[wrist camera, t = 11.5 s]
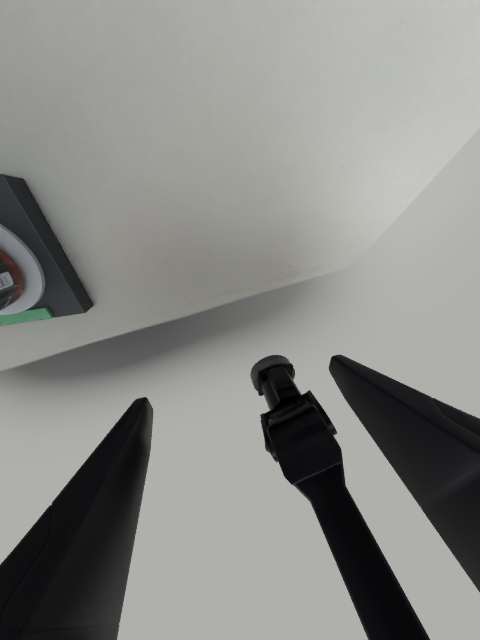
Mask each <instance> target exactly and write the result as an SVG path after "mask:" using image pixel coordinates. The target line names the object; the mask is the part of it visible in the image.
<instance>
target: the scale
mask: <svg viewBox="0 0 480 640" xmlns="http://www.w3.org/2000/svg"><path fill="white" fill-rule="evenodd" d="M0 249H1V250H2V251H3V252H5V254H6V255H8V256H9V257H10V258H11V259H12V260H13V262H14V263H15V264H16V265H17V267H18V269H19V270H20V273H21V275H22V278H23V284H24V290H23V291H22V294H21V296H20V297H19V299H18V300H17V301H15V302H14V303H13V304H11V305H9V306H7V307H6V308H5V309H3V310H0V326H1V325H8V324H15V323H22V322H28V321H35V320H42V319H49V318H53V317H60V316H66V315H73V314H80V313H86V312H87V311H88V310H89V309H90V308H91V307H92V306H93V304H92V302H91V300H90V298H89V296H88V295H87V293H86V291H85V289H84V288H83V286H82V284H81V282H80V280H79V279H78V277H77V275H76V273H75V271H74V270H73V268H72V266H71V264H70V262H69V261H68V259H67V257H66V255H65V253H64V252H63V250H62V248H61V246H60V244H59V243H58V241H57V239H56V237H55V236H54V234H53V232H52V230H51V228H50V227H49V225H48V223H47V221H46V219H45V218H44V216H43V214H42V212H41V210H40V209H39V207H38V205H37V203H36V201H35V200H34V198H33V196H32V194H31V192H30V191H29V189H28V187H27V185H26V183H25V182H24V180H23V179H22V178H17V177H12V176H8V175H3V174H0Z"/></svg>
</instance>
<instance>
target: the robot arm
mask: <svg viewBox="0 0 480 640" xmlns="http://www.w3.org/2000/svg"><path fill="white" fill-rule="evenodd" d="M329 371H330V373H331V375H332V377H333V378H334V380H335V382H336V384H337V386H338V387H339V389H340V391H341V393H342V394H343V396H344V398H345V399H346V401H347V402H348V404H349V405H350V406H351V408H352V410H353V411H354V412H355V414H356V415H357V417H358V418H359V420H360V421H361V423H362V424H363V425H364V427H365V428H366V430H367V431H368V433H369V434H370V435H371V437H372V438H373V440H374V441H375V443H376V444H377V445H378V447H379V448H380V450H381V451H382V453H383V454H384V456H385V457H386V458H387V460H388V461H389V463H390V464H391V466H392V467H393V468H394V470H395V471H396V473H397V474H398V476H399V477H400V478H401V480H402V481H403V483H404V484H405V486H406V487H407V489H408V490H409V491H410V493H411V494H412V495H413V497H414V498H415V500H416V501H417V503H418V504H419V506H420V507H421V508H422V510H423V512H424V513H425V514H426V516H427V517H428V519H429V520H430V522H431V523H432V525H433V526H434V527H435V529H436V530H437V532H438V533H439V535H440V536H441V538H442V539H443V540H444V542H445V543H446V545H447V546H448V548H449V549H450V550H451V552H452V553H453V555H454V556H455V558H456V559H457V560H458V562H459V563H460V565H461V566H462V568H463V569H464V570H465V572H466V573H467V575H468V576H469V577H470V579H471V580H472V582H473V583H474V585H475V586H476V587H477V589H478V591H479V592H480V419H479V418H477V417H474V416H472V415H469V414H467V413H465V412H463V411H461V410H458V409H456V408H454V407H452V406H450V405H447V404H445V403H443V402H441V401H439V400H437V399H435V398H431V397H430V396H428V395H426V394H424V393H421V392H419V391H417V390H415V389H413V388H410V387H409V386H406V385H404V384H402V383H400V382H398V381H396V380H394V379H392V378H389V377H387V376H385V375H383V374H381V373H379V372H377V371H375V370H372V369H370V368H368V367H366V366H364V365H361V364H360V363H357V362H355V361H353V360H351V359H349V358H347V357H345V356H342V355H336V356H332V358H331V361H330V365H329ZM292 373H293V365H292V364H286V365H281V366H276V367H272V368H267V369H263V370H259V371H258V372H257V375H258V394H259V396H262V395H264V396H265V399H266V401H267V404H268V406H269V409H270V411H269V412H267V413H263V414H261V415H260V416H261V424H262V428H263V433H264V438H265V448H266V450H267V451H268V452H269V453H271V455H272V457H273V458H274V460H275V461H276V462H279V464H280V467H281V469H282V472H283V474H284V476H285V478H286V479H287V480H288V481H289V482H290V483H291V484H292V485H294V486H295V487H296V488H297V489H298V490H299V491H300V492H301V493H302V494H303V495H304V496H305V497H306V498H307V499H308V500H309V501H310V502H311V504H312V507H313V509H314V511H315V513H316V516H317V518H318V521H319V523H320V525H321V528H322V530H323V533H324V535H325V537H326V539H327V542H328V544H329V547H330V549H331V552H332V554H333V556H334V559H335V561H336V563H337V566H338V568H339V571H340V573H341V575H342V578H343V580H344V582H345V585H346V587H347V590H348V592H349V594H350V597H351V599H352V602H353V604H354V606H355V609H356V611H357V613H358V616H359V618H360V621H361V623H362V625H363V628H364V630H365V632H366V635H367V637H368V640H430V639H429V637H428V635H427V633H426V631H425V629H424V628H423V626H422V624H421V622H420V620H419V618H418V617H417V615H416V613H415V611H414V609H413V608H412V606H411V604H410V602H409V601H408V599H407V597H406V595H405V593H404V591H403V589H402V588H401V586H400V584H399V582H398V580H397V579H396V577H395V575H394V573H393V571H392V570H391V568H390V566H389V564H388V562H387V560H386V559H385V557H384V555H383V553H382V551H381V550H380V548H379V546H378V544H377V543H376V540H375V539H374V537H373V535H372V533H371V531H370V529H369V528H368V526H367V524H366V522H365V520H364V519H363V517H362V515H361V513H360V511H359V509H358V508H357V506H356V504H355V502H354V500H353V499H352V497H351V495H350V493H349V491H348V490H347V488H346V486H345V477H344V469H343V460H342V452H341V448H340V446H339V444H338V443H337V441H336V439H335V438H334V436H333V435H335V434H337V431H336V429H335V427H334V426H333V424H332V422H331V420H330V419H329V417H328V416H327V414H326V412H325V411H324V409H323V408H322V407H321V405H320V404H319V403H318V401H317V400H316V398H315V397H314V395H313V394H312V393H311V391H310V390H309V391H308V392H307V393H305V394H303V395H301V393H300V391H299V390H298V388H297V387H296V384H295V383H294V381H293V379H292ZM152 423H153V408H152V406H151V404H150V402H149V401H148V399H147V398H146V397H143V398H139V399H136V400H135V401H134V402H133V403H132V405H131V406H130V407H129V408H128V409H127V411H126V412H125V413H124V414H123V416H122V417H121V418H120V419H119V421H118V422H117V423H116V424H115V426H114V427H113V428H112V429H111V430H110V432H109V433H108V434H107V435H106V437H105V438H104V439H103V440H102V442H101V443H100V444H99V445H98V447H97V448H96V449H95V450H94V452H93V453H92V454H91V455H90V456H89V458H88V459H87V460H86V461H85V463H84V464H83V465H82V466H81V468H80V469H79V470H78V471H77V473H76V474H75V475H74V476H73V477H72V479H71V480H70V481H69V482H68V484H67V485H66V486H65V487H64V489H63V490H62V491H61V492H60V494H59V495H58V496H57V497H56V498H55V500H54V501H53V502H52V505H51V506H49V507H48V508H47V509H46V511H45V512H44V513H43V515H42V516H41V517H40V518H39V519H38V521H37V522H36V523H35V524H34V525H33V527H32V528H31V529H30V530H29V531H28V533H27V534H26V535H25V536H24V537H23V539H22V540H21V541H20V542H19V544H18V545H17V546H16V547H15V548H14V550H13V551H12V552H11V553H10V554H9V555H8V556H7V558H6V559H5V560H4V561H3V562H2V563H1V565H0V640H117V635H118V630H119V622H120V618H121V612H122V606H123V601H124V596H125V590H126V585H127V579H128V573H129V567H130V562H131V557H132V551H133V545H134V540H135V534H136V529H137V523H138V518H139V512H140V506H141V501H142V495H143V490H144V484H145V478H146V473H147V467H148V462H149V456H150V449H151V437H152Z"/></svg>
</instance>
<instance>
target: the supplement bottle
mask: <svg viewBox="0 0 480 640" xmlns="http://www.w3.org/2000/svg"><path fill="white" fill-rule="evenodd" d="M23 290H24V284H23V278H22V275H21V273H20V270H19V269H18V267H17V265H16V264H15V263H14V262H13V260H12V259H11V258H10V257H9V256H8V255H6V254H5V252H3V251H2V250H1V249H0V310H3V309H5V308H6V307H7V306H9V305H11V304H13V303H14V302H15V301H17V300H18V299H19V297H20V296H21V294H22V291H23Z"/></svg>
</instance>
